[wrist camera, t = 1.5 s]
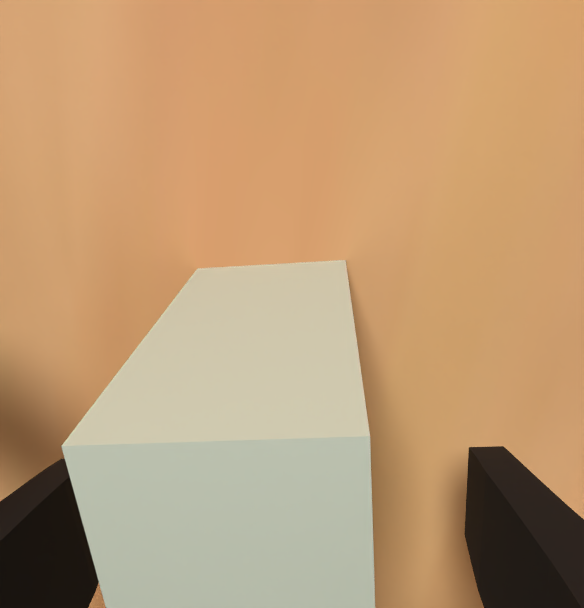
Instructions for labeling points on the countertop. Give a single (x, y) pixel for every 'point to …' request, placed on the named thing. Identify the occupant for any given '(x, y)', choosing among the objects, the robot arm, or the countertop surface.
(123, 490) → the sage block
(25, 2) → the countertop surface
